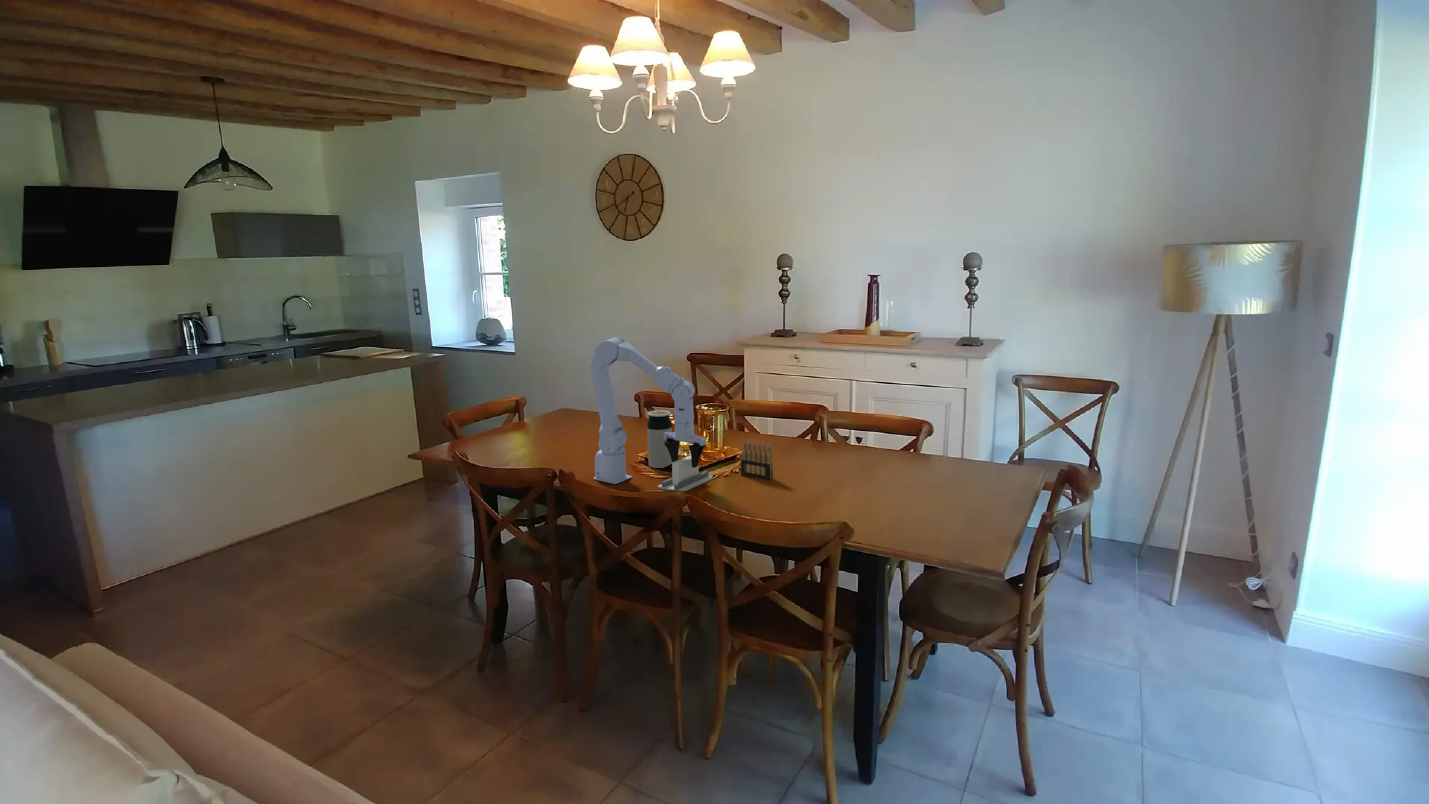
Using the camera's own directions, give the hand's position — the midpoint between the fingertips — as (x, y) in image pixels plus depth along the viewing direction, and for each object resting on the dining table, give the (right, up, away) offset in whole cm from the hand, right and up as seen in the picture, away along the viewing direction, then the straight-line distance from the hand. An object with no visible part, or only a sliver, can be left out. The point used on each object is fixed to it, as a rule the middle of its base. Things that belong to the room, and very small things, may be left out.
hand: (685, 464), depth 222 cm
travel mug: (-9, -2, +19) cm, 21 cm away
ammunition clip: (+22, -5, +6) cm, 24 cm away
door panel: (0, -5, +1) cm, 5 cm away
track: (0, -6, +1) cm, 6 cm away
